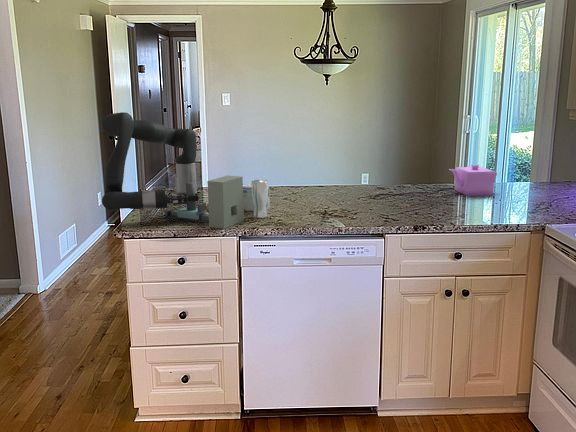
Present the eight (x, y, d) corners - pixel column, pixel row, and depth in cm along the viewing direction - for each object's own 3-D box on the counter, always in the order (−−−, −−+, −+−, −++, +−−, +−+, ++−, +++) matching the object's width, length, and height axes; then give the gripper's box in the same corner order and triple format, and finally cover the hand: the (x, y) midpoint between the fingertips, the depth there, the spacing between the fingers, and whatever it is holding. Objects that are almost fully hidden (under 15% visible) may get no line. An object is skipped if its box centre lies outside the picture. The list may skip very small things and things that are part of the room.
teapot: (441, 190, 282) (442, 163, 278) (488, 189, 284) (490, 161, 281) (453, 196, 267) (454, 167, 264) (502, 195, 270) (504, 166, 266)
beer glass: (251, 214, 235) (250, 179, 231) (268, 214, 235) (267, 179, 232) (252, 218, 228) (251, 182, 225) (269, 218, 229) (268, 182, 225)
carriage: (176, 217, 228) (174, 183, 224) (187, 213, 234) (185, 180, 230) (198, 220, 223) (196, 185, 219) (208, 216, 229) (207, 182, 225)
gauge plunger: (206, 213, 222) (205, 204, 221) (212, 211, 225) (211, 202, 224) (226, 216, 218) (226, 206, 217) (232, 214, 221) (232, 204, 220)
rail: (165, 217, 232) (164, 210, 231) (173, 214, 236) (172, 207, 235) (214, 223, 220) (214, 216, 220) (222, 221, 225) (221, 213, 224)
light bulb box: (270, 208, 245) (269, 184, 243) (264, 212, 239) (264, 187, 237) (247, 207, 249) (247, 183, 246) (241, 210, 243) (241, 186, 240)
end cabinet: (208, 226, 217) (206, 180, 212) (228, 218, 229) (226, 175, 224) (224, 228, 213) (222, 182, 209) (243, 220, 225) (242, 176, 221)
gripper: (153, 193, 216) (198, 191, 219) (154, 187, 229) (196, 184, 233) (155, 212, 218) (199, 209, 221) (155, 204, 231) (197, 202, 235)
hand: (197, 197), depth 227 cm, fingers closed on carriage, 3 cm apart
